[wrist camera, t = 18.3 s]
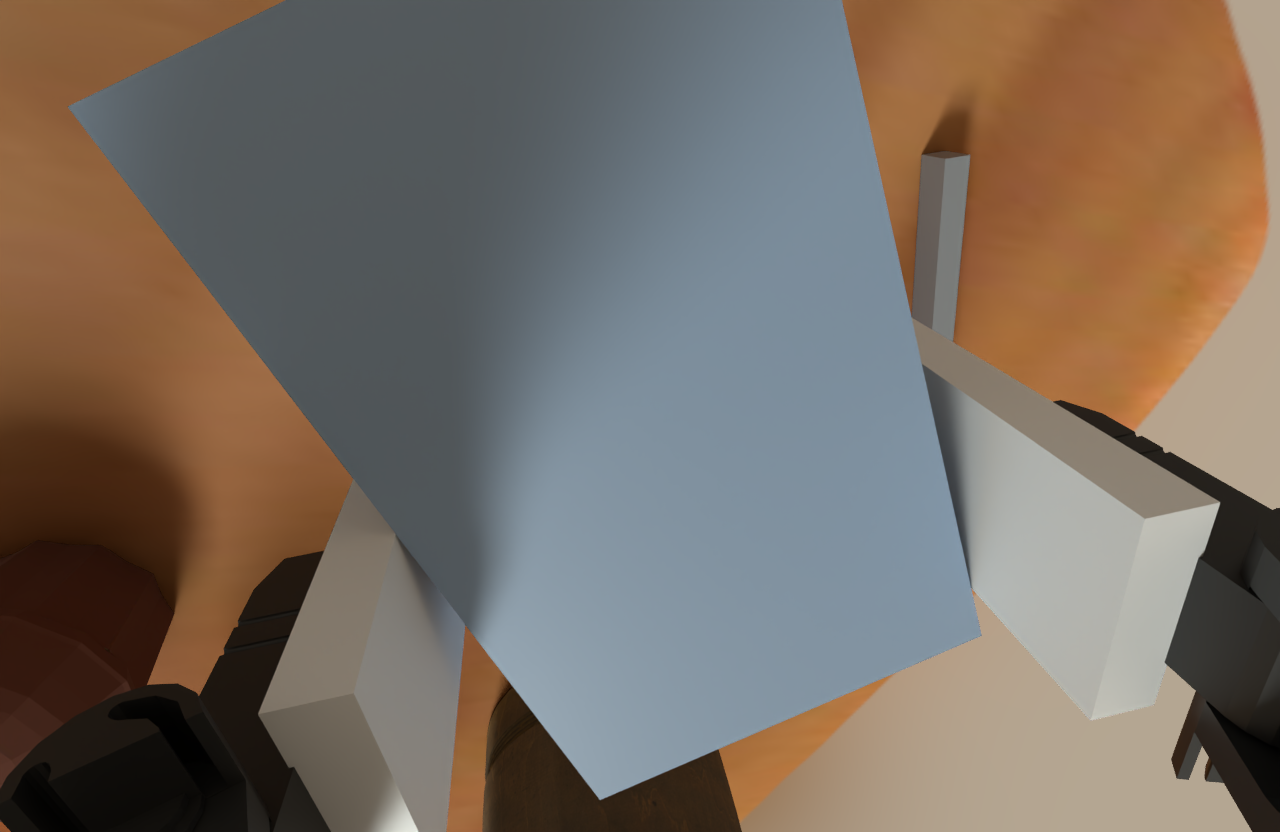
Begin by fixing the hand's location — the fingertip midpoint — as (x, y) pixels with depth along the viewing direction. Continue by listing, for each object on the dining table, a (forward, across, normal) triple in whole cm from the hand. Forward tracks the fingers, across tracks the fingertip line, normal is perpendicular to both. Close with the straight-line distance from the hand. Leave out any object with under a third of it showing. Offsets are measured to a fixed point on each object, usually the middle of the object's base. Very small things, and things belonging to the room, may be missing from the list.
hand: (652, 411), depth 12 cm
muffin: (+21, -29, -16) cm, 39 cm away
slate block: (+1, 0, +2) cm, 2 cm away
